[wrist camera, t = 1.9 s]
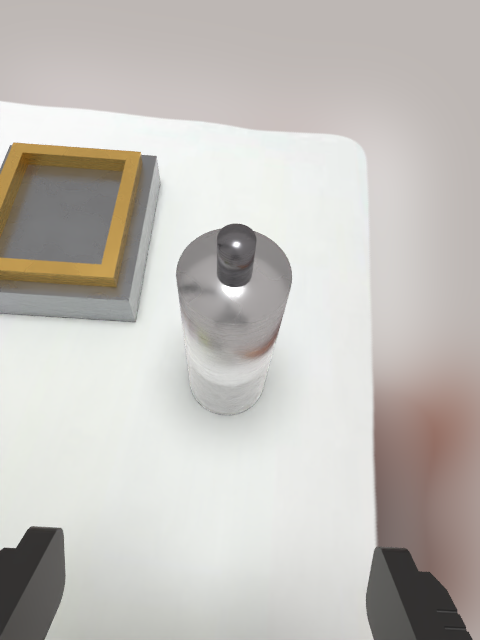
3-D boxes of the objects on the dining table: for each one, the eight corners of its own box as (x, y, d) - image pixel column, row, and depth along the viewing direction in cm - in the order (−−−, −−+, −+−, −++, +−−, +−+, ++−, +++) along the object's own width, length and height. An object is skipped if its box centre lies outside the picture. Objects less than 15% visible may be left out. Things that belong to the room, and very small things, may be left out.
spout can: (186, 412, 31) (164, 289, 17) (193, 342, 33) (179, 187, 20) (263, 417, 31) (302, 298, 17) (264, 347, 33) (299, 195, 20)
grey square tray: (-30, 311, 34) (-60, 279, 30) (23, 173, 40) (4, 133, 37) (135, 321, 34) (125, 291, 30) (160, 183, 41) (154, 144, 37)
